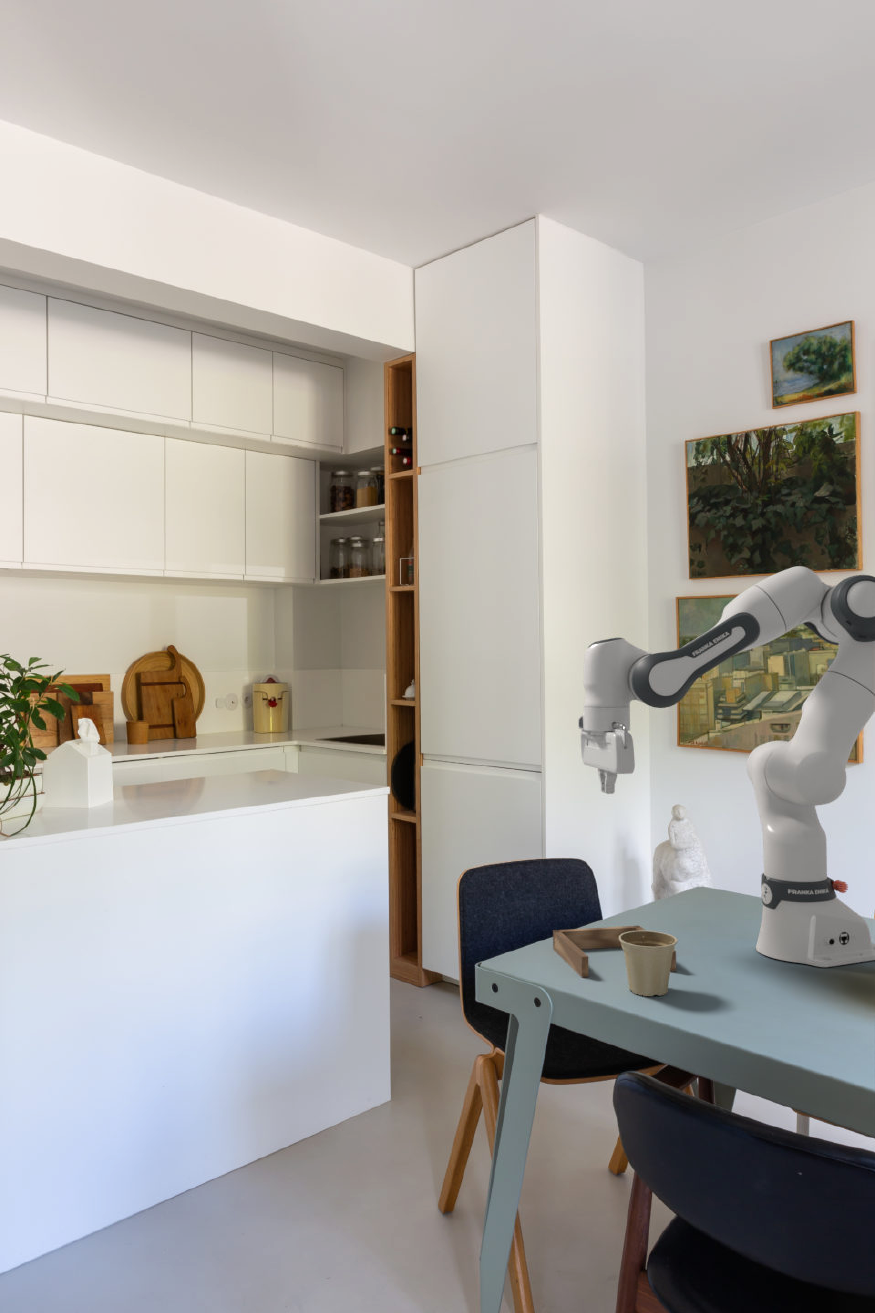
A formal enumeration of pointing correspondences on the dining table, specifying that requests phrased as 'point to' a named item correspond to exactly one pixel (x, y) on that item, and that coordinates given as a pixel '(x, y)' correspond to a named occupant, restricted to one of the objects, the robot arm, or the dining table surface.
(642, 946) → the flower pot
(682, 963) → the dining table surface
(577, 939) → the wooden u-shaped frame
